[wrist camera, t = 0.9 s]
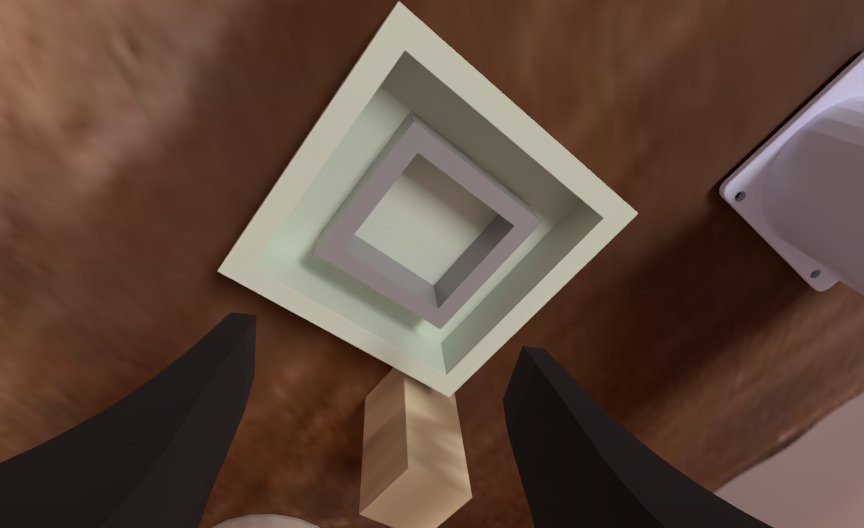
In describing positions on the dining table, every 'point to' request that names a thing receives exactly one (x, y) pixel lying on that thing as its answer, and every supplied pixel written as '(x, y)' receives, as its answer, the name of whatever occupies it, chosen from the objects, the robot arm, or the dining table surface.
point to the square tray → (424, 213)
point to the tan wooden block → (411, 455)
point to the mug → (265, 522)
